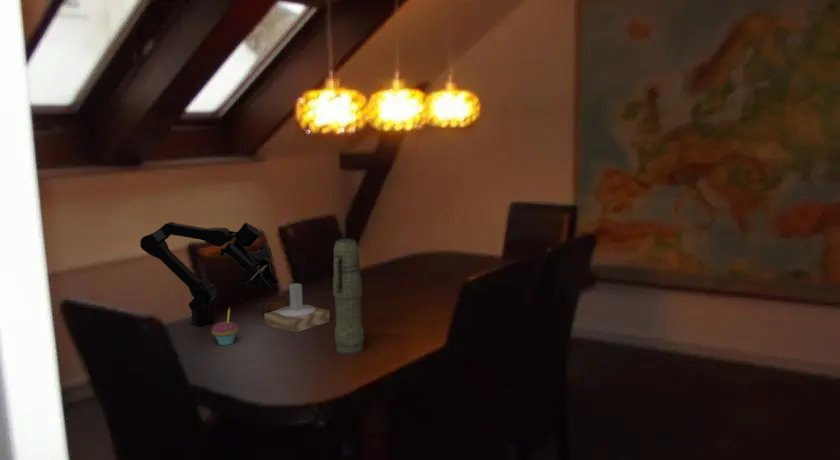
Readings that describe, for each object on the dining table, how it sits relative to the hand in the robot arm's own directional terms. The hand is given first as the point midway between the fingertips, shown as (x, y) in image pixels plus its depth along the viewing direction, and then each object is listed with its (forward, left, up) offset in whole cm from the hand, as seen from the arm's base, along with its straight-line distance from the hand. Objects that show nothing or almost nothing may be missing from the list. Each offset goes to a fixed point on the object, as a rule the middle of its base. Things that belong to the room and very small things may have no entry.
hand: (274, 286), depth 261 cm
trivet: (+4, -6, -13) cm, 15 cm away
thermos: (-6, -42, -14) cm, 45 cm away
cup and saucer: (+8, +9, -14) cm, 18 cm away
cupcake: (-25, -4, -14) cm, 28 cm away
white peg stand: (+4, -6, -9) cm, 12 cm away
